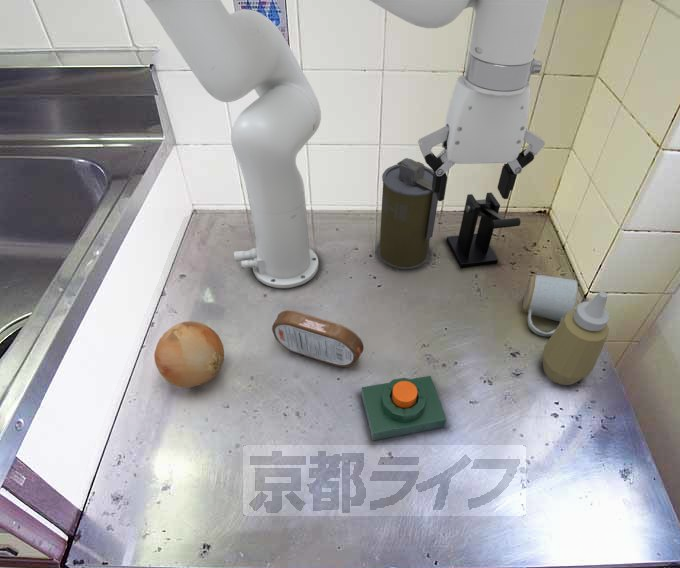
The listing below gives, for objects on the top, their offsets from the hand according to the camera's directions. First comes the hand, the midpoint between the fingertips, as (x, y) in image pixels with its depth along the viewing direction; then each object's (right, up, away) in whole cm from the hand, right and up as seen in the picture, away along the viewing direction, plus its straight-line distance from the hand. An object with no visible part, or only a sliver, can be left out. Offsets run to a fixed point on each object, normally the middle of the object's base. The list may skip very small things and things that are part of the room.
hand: (470, 194), depth 69 cm
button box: (-10, -32, +3) cm, 34 cm away
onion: (-42, -27, +5) cm, 50 cm away
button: (-10, -30, 0) cm, 31 cm away
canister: (-9, -5, +28) cm, 30 cm away
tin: (-24, -24, +9) cm, 35 cm away
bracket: (+5, -4, +29) cm, 30 cm away
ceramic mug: (+17, -18, +18) cm, 30 cm away
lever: (+7, 0, +18) cm, 19 cm away
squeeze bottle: (+17, -27, +10) cm, 33 cm away
